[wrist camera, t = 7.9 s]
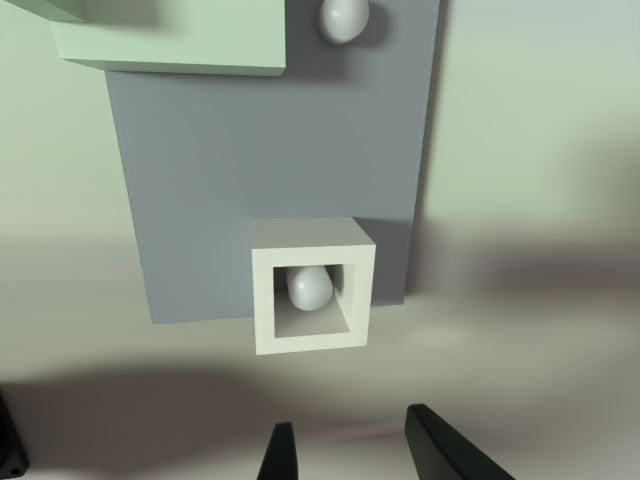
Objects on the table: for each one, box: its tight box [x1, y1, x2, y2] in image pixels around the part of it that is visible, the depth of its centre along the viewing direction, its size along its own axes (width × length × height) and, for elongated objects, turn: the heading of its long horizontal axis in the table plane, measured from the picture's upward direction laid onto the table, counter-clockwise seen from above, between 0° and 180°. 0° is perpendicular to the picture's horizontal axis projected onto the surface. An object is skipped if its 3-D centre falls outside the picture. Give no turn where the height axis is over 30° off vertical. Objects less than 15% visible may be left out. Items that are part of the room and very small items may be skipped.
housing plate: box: [104, 0, 440, 324], centre depth 14 cm, size 20×14×4 cm
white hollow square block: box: [252, 217, 376, 355], centre depth 16 cm, size 5×5×4 cm
